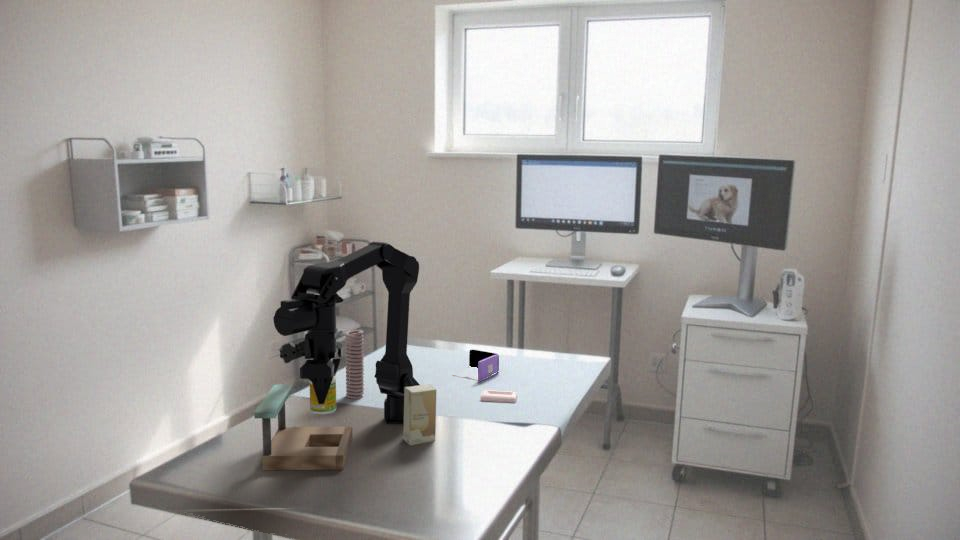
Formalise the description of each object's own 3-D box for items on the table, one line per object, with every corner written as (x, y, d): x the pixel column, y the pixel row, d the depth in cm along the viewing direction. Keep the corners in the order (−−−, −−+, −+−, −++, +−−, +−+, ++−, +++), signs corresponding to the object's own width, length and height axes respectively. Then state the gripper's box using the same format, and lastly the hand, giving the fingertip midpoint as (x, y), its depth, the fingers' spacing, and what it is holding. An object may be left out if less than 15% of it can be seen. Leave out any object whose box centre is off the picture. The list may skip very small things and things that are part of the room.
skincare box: (410, 446, 160) (410, 392, 158) (402, 439, 163) (402, 386, 162) (437, 441, 163) (437, 388, 161) (429, 435, 166) (429, 383, 164)
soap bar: (515, 406, 188) (515, 397, 187) (480, 404, 189) (480, 395, 189) (517, 400, 193) (517, 391, 192) (483, 398, 194) (483, 389, 194)
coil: (342, 398, 190) (341, 331, 188) (352, 393, 195) (351, 327, 192) (358, 401, 189) (357, 333, 186) (367, 396, 193) (366, 329, 190)
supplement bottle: (330, 416, 150) (329, 370, 149) (305, 414, 151) (304, 368, 150) (340, 407, 156) (339, 363, 154) (316, 405, 157) (315, 361, 155)
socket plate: (352, 437, 164) (352, 384, 162) (342, 471, 146) (341, 412, 144) (275, 438, 163) (274, 384, 161) (256, 472, 145) (254, 412, 143)
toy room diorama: (503, 376, 213) (504, 353, 212) (481, 386, 203) (482, 362, 202) (469, 369, 220) (469, 347, 219) (446, 379, 210) (446, 356, 209)
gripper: (291, 316, 159) (293, 385, 162) (272, 337, 141) (274, 415, 143) (342, 316, 160) (344, 385, 163) (330, 337, 142) (332, 414, 144)
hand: (323, 399), depth 153 cm, fingers closed on supplement bottle, 5 cm apart
